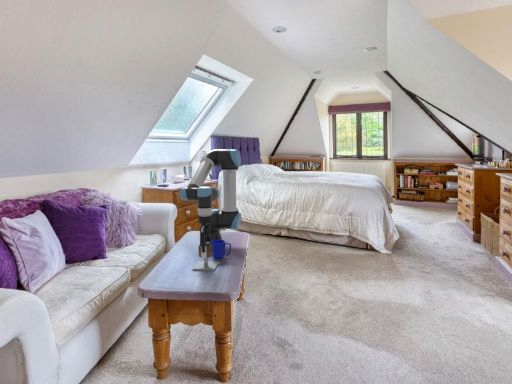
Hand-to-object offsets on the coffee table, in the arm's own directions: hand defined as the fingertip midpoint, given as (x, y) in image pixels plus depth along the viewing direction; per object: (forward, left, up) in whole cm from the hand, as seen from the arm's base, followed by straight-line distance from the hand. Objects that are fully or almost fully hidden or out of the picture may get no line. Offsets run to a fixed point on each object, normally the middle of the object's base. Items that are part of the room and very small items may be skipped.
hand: (205, 255), depth 182 cm
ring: (0, 0, 0) cm, 0 cm away
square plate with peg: (0, 0, -7) cm, 7 cm away
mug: (-16, +5, -7) cm, 18 cm away
